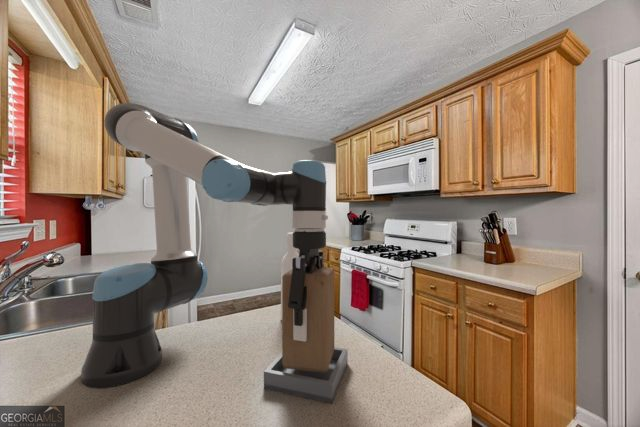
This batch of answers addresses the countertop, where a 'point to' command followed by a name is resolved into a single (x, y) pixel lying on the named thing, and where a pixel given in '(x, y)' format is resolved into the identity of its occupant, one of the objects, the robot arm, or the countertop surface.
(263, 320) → the countertop surface
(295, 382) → the tray
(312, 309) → the wooden block
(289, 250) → the bottle
